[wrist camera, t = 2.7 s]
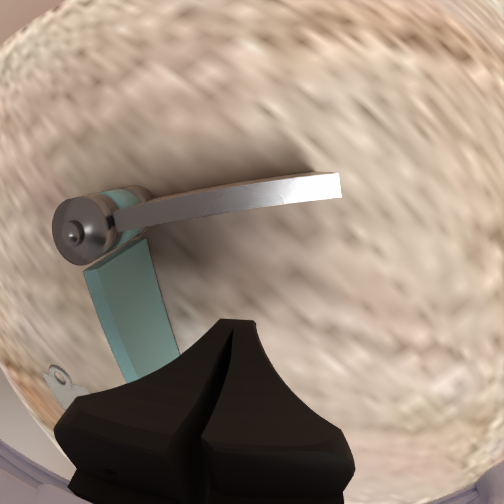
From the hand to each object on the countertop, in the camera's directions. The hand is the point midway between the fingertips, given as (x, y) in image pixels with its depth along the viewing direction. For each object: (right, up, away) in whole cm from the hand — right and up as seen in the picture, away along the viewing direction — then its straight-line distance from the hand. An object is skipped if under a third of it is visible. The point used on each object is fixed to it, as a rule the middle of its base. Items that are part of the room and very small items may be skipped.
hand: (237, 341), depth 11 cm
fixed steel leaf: (-2, +6, +4) cm, 7 cm away
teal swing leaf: (-5, +2, +5) cm, 7 cm away
